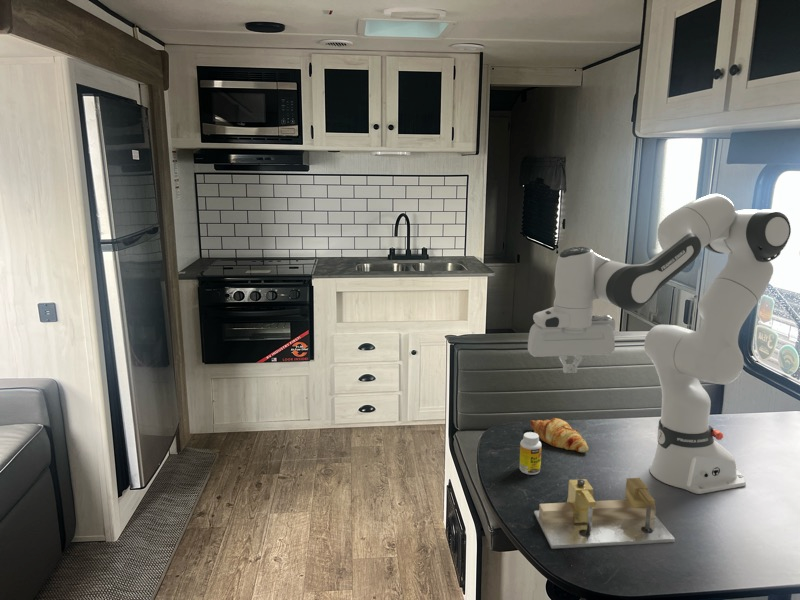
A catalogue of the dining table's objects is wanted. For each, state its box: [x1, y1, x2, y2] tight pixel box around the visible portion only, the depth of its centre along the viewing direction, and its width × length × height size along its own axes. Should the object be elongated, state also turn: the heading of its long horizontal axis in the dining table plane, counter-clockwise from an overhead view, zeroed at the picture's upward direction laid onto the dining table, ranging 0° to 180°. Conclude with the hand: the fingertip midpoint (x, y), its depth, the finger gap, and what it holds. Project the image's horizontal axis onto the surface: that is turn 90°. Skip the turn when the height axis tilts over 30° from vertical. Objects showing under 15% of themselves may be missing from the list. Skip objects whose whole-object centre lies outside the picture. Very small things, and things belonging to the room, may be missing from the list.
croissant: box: [529, 417, 589, 453], centre depth 174 cm, size 21×10×8 cm, turn 37°
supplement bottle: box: [519, 431, 542, 476], centre depth 157 cm, size 6×6×10 cm
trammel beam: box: [538, 477, 657, 530], centre depth 132 cm, size 26×9×8 cm, turn 93°
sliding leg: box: [566, 478, 597, 533], centre depth 132 cm, size 4×10×9 cm, turn 3°
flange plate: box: [533, 510, 676, 550], centre depth 132 cm, size 27×13×1 cm, turn 93°
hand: (569, 372), depth 141 cm, fingers closed
